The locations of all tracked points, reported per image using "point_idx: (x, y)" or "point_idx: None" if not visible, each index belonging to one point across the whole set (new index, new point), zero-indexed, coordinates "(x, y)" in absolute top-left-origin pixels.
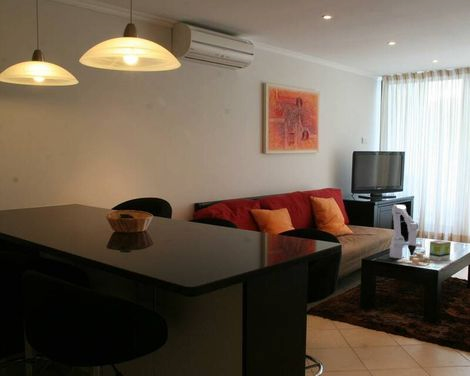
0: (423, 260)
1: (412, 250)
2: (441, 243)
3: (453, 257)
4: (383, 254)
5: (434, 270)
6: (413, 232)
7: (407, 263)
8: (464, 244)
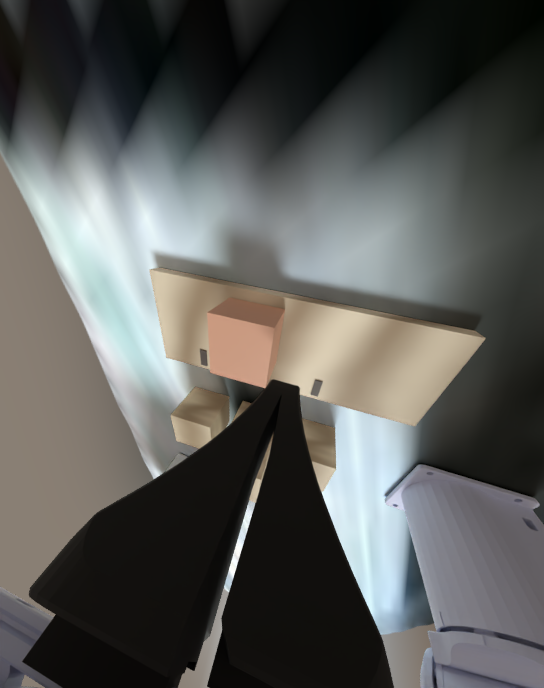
0: (218, 409)
1: (221, 444)
2: None
3: None
4: None
5: (2, 106)
6: None
7: (337, 304)
8: (226, 590)
